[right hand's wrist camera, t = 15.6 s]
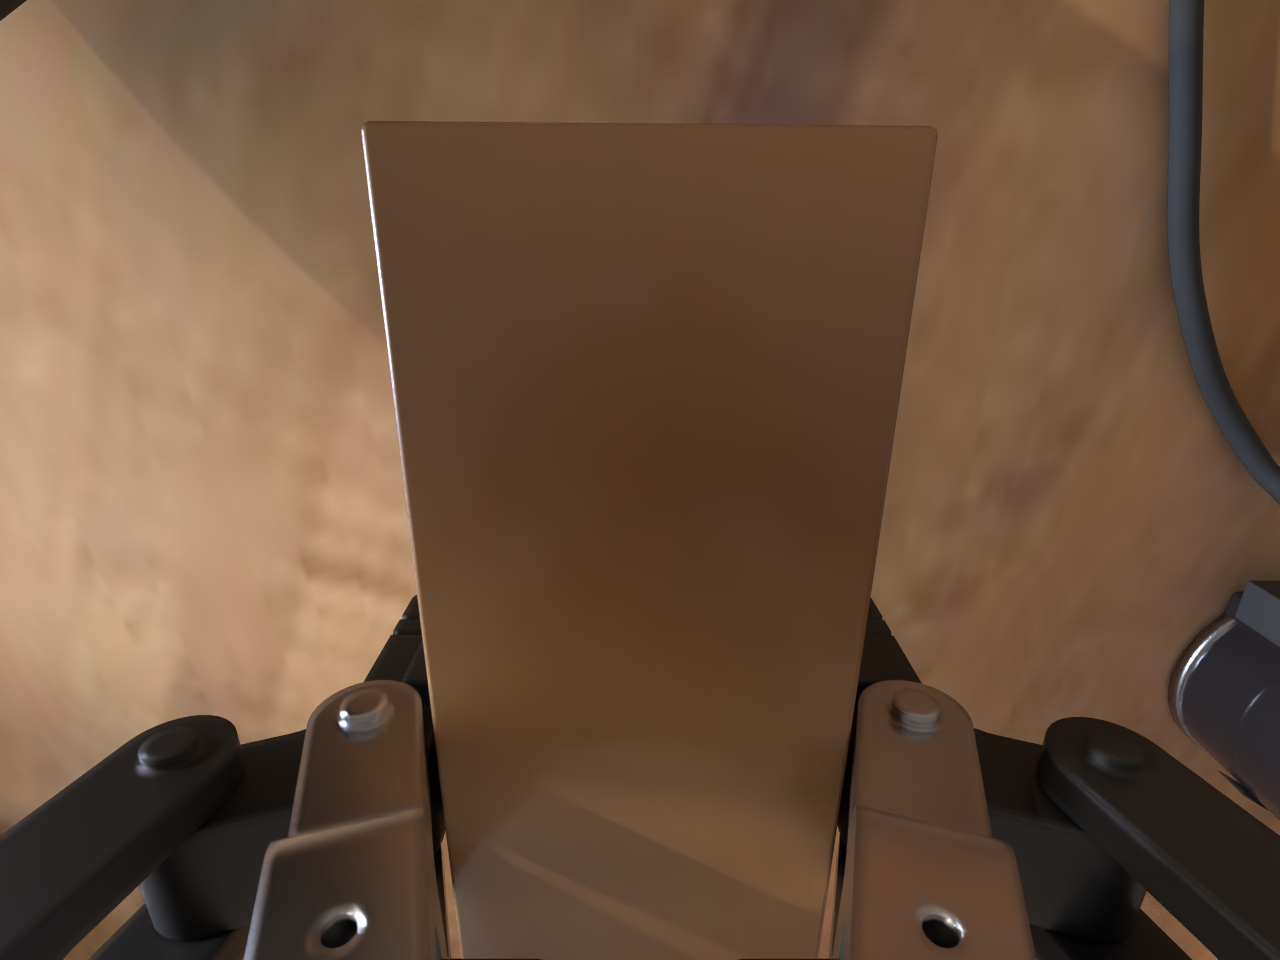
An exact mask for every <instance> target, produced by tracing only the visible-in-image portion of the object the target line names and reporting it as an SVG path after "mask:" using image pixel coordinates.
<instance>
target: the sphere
mask: <svg viewBox="0 0 1280 960" xmlns="http://www.w3.org/2000/svg"><path fill="white" fill-rule="evenodd" d="M25 1H26V0H0V21H1V20H2V19H3V18H5V17H6V16H7V15H8V14H10V13H11V12H12V11H14V10H15V9H16V8H17V7H19V6H20V5H21V4H23V3H24V2H25Z"/></svg>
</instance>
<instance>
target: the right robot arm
mask: <svg viewBox="0 0 1280 960" xmlns="http://www.w3.org/2000/svg"><path fill="white" fill-rule="evenodd" d="M1203 22H1204V0H1169V154H1168V199H1167V226H1168V251H1169V264H1170V273H1171V281H1172V287H1173V293H1174V299H1175V304H1176V309H1177V313H1178V318H1179V322H1180V326H1181V330H1182V334H1183V338H1184V342H1185V346H1186V349H1187V353H1188V356H1189V360H1190V363H1191V366H1192V369H1193V372H1194V375H1195V378H1196V380H1197V383H1198V386H1199V388H1200V390H1201V393H1202V395H1203V397H1204V399H1205V401H1206V403H1207V406H1208V408H1209V410H1210V411H1211V413H1212V415H1213V417H1214V419H1215V421H1216V422H1217V424H1218V426H1219V427H1220V429H1221V431H1222V432H1223V434H1224V436H1225V437H1226V439H1227V441H1228V442H1229V444H1230V445H1231V447H1232V448H1233V450H1234V451H1235V453H1236V455H1237V456H1238V458H1239V459H1240V461H1241V462H1242V464H1243V465H1244V467H1245V468H1246V470H1247V471H1248V472H1249V474H1250V475H1251V476H1252V477H1253V479H1254V480H1255V481H1256V482H1257V483H1258V484H1259V485H1260V486H1261V487H1262V488H1263V489H1264V490H1265V491H1266V492H1267V493H1268V494H1270V495H1271V496H1272V497H1273V498H1274V499H1275V500H1276V501H1277V503H1278V504H1279V505H1280V467H1279V466H1278V465H1277V464H1276V462H1275V461H1274V460H1273V458H1272V457H1271V455H1270V454H1269V452H1268V451H1267V449H1266V448H1265V446H1264V445H1263V443H1262V442H1261V440H1260V439H1259V437H1258V435H1257V434H1256V432H1255V431H1254V429H1253V427H1252V426H1251V424H1250V423H1249V421H1248V419H1247V418H1246V416H1245V414H1244V412H1243V410H1242V409H1241V407H1240V405H1239V403H1238V401H1237V399H1236V397H1235V395H1234V393H1233V391H1232V389H1231V387H1230V384H1229V382H1228V379H1227V377H1226V375H1225V372H1224V369H1223V366H1222V363H1221V360H1220V357H1219V353H1218V350H1217V346H1216V342H1215V338H1214V334H1213V330H1212V326H1211V321H1210V317H1209V312H1208V308H1207V302H1206V297H1205V292H1204V285H1203V278H1202V269H1201V259H1200V243H1199V193H1200V167H1201V140H1202V88H1203ZM1168 701H1169V707H1170V712H1171V714H1172V717H1173V719H1174V721H1175V722H1176V724H1177V725H1178V727H1179V728H1180V729H1181V730H1182V731H1183V732H1184V733H1185V734H1186V735H1187V736H1188V737H1189V738H1190V739H1191V740H1192V741H1193V742H1194V743H1195V744H1196V745H1198V746H1199V747H1200V748H1201V749H1203V750H1205V751H1206V752H1208V753H1209V754H1210V755H1211V756H1212V757H1213V758H1214V759H1216V760H1217V761H1218V762H1219V763H1220V764H1221V765H1222V766H1223V767H1224V768H1225V769H1226V770H1227V771H1228V772H1229V773H1230V774H1231V775H1232V776H1233V777H1234V778H1235V779H1236V780H1237V781H1238V782H1239V783H1238V782H1236V781H1235V780H1233V779H1232V778H1230V777H1228V776H1227V775H1225V774H1223V773H1222V772H1220V771H1219V770H1218V771H1219V772H1220V773H1221V774H1222V775H1223V776H1224V777H1225V778H1226V779H1227V780H1228V781H1229V782H1230V783H1231V784H1232V785H1233V786H1234V787H1235V788H1237V789H1238V790H1239V791H1240V792H1241V793H1242V794H1243V795H1244V796H1246V797H1247V798H1249V799H1250V800H1252V801H1254V802H1255V803H1257V804H1259V805H1260V806H1262V807H1263V808H1265V809H1267V810H1268V811H1270V812H1271V813H1272V814H1273V815H1274V816H1275V817H1276V818H1277V819H1278V820H1280V581H1248V582H1247V585H1246V588H1245V591H1244V592H1236V593H1234V594H1233V595H1232V596H1231V598H1230V601H1229V604H1228V606H1227V608H1226V610H1225V612H1224V613H1223V614H1222V615H1221V616H1220V617H1218V618H1217V619H1216V620H1214V621H1213V622H1211V623H1210V624H1209V625H1208V626H1207V627H1205V628H1204V629H1203V630H1202V631H1201V632H1200V633H1199V634H1198V635H1197V636H1196V637H1195V638H1194V639H1193V640H1192V641H1191V642H1190V644H1189V645H1188V646H1187V647H1186V649H1185V650H1184V652H1183V653H1182V655H1181V656H1180V658H1179V660H1178V662H1177V663H1176V665H1175V668H1174V670H1173V673H1172V675H1171V679H1170V683H1169V689H1168ZM1241 784H1242V785H1241ZM837 826H838V829H839V832H840V837H839V844H838V851H837V858H836V872H835V885H834V899H833V912H832V926H831V939H830V953H829V959H739V960H1036V958H1037V960H1192V959H1191V958H1190V957H1189V956H1188V955H1187V954H1186V953H1185V952H1184V951H1183V950H1182V949H1181V948H1180V947H1179V946H1178V945H1177V944H1176V943H1175V942H1174V941H1173V940H1172V939H1171V938H1170V937H1169V936H1168V935H1167V934H1166V933H1165V932H1163V931H1162V930H1161V929H1160V928H1159V927H1158V926H1157V925H1156V924H1155V923H1154V922H1153V921H1152V920H1151V919H1150V918H1149V917H1148V916H1147V915H1146V914H1145V913H1144V912H1143V911H1142V910H1141V909H1140V907H1141V904H1142V902H1143V899H1144V896H1145V894H1146V891H1148V892H1149V893H1150V894H1151V895H1152V896H1153V897H1154V898H1155V899H1156V900H1157V901H1158V902H1159V903H1160V904H1161V905H1163V906H1164V907H1165V908H1166V909H1167V910H1168V911H1169V912H1170V913H1171V914H1172V915H1173V916H1174V917H1175V918H1176V919H1177V920H1178V921H1179V922H1180V923H1181V924H1182V925H1184V926H1185V927H1186V928H1187V929H1188V930H1189V931H1190V932H1191V933H1192V934H1193V935H1194V936H1195V937H1196V938H1197V939H1198V940H1199V941H1200V942H1201V943H1202V944H1203V945H1205V946H1206V947H1207V948H1208V949H1209V950H1210V951H1211V952H1212V953H1213V954H1214V955H1215V956H1216V958H1217V959H1218V960H1280V836H1279V835H1278V834H1276V833H1275V832H1274V831H1272V830H1271V829H1270V828H1268V827H1267V826H1266V825H1264V824H1263V823H1262V822H1260V821H1259V820H1257V819H1256V818H1255V817H1253V816H1252V815H1251V814H1249V813H1248V812H1247V811H1245V810H1244V809H1243V808H1241V807H1240V806H1239V805H1237V804H1236V803H1234V802H1233V801H1232V800H1230V799H1229V798H1228V797H1226V796H1225V795H1224V794H1222V793H1221V792H1220V791H1218V790H1217V789H1216V788H1214V787H1213V786H1211V785H1210V784H1209V783H1207V782H1206V781H1205V780H1203V779H1202V778H1201V777H1199V776H1198V775H1197V774H1195V773H1194V772H1193V771H1191V770H1190V769H1188V768H1187V767H1186V766H1184V765H1183V764H1182V763H1180V762H1179V761H1178V760H1176V759H1175V758H1174V757H1172V756H1171V755H1170V754H1168V753H1167V752H1165V751H1164V750H1163V749H1161V748H1160V747H1159V746H1157V745H1156V744H1154V743H1153V742H1151V741H1150V740H1148V739H1147V738H1145V737H1143V736H1141V735H1140V734H1138V733H1136V732H1134V731H1132V730H1129V729H1127V728H1125V727H1122V726H1120V725H1117V724H1114V723H1111V722H1107V721H1104V720H1099V719H1094V718H1086V717H1070V718H1064V719H1061V720H1058V721H1056V722H1054V723H1052V724H1051V725H1050V726H1049V727H1048V729H1047V731H1046V734H1045V738H1044V742H1043V745H1039V744H1034V743H1030V742H1025V741H1021V740H1016V739H1011V738H1007V737H1002V736H998V735H994V734H990V733H986V732H983V731H981V730H978V729H975V728H974V727H973V723H972V720H971V718H970V716H969V714H968V713H967V711H966V710H965V709H964V708H963V707H962V706H961V705H960V704H959V703H958V702H957V701H956V700H954V699H953V698H951V697H950V696H949V695H947V694H945V693H943V692H942V691H940V690H937V689H935V688H933V687H930V686H927V685H924V684H922V683H921V681H920V680H919V678H918V676H917V675H916V673H915V671H914V669H913V668H912V666H911V664H910V663H909V661H908V659H907V658H906V656H905V654H904V653H903V651H902V649H901V648H900V646H899V644H898V642H897V641H896V639H895V637H894V636H891V631H890V629H889V627H888V626H887V624H886V622H885V620H882V615H881V614H880V612H879V610H878V609H877V607H876V605H875V604H874V602H873V600H872V598H870V603H869V610H868V617H867V624H866V631H865V638H864V645H863V652H862V658H861V665H860V672H859V679H858V686H857V693H856V700H855V706H854V713H853V720H852V727H851V734H850V741H849V748H848V754H847V761H846V768H845V775H844V782H843V789H842V796H841V803H840V809H839V816H838V823H837ZM445 831H446V828H445V819H444V811H443V803H442V795H441V786H440V778H439V770H438V762H437V753H436V745H435V737H434V729H433V720H432V712H431V704H430V696H429V687H428V679H427V671H426V663H425V654H424V646H423V638H422V630H421V621H420V613H419V605H418V597H417V595H416V596H414V597H413V598H412V600H411V602H410V603H409V605H408V607H407V608H406V610H405V612H404V614H403V615H402V620H399V622H398V624H397V626H396V627H395V629H394V631H393V635H391V636H390V638H389V639H388V641H387V643H386V644H385V646H384V648H383V650H382V651H381V653H380V655H379V656H378V658H377V660H376V662H375V663H374V665H373V667H372V668H371V670H370V672H369V674H368V675H367V677H366V679H365V680H364V682H363V683H359V684H356V685H353V686H350V687H347V688H345V689H343V690H340V691H339V692H337V693H335V694H333V695H331V696H330V697H329V698H327V699H326V700H324V701H323V702H322V703H321V704H320V705H319V706H318V707H317V708H316V709H315V710H314V712H313V713H312V714H311V716H310V718H309V720H308V724H307V728H306V729H305V730H302V731H299V732H295V733H291V734H287V735H283V736H278V737H273V738H269V739H264V740H260V741H255V742H251V743H246V744H242V745H240V742H239V738H238V734H237V731H236V728H235V726H234V725H233V724H232V723H231V722H230V721H228V720H227V719H225V718H222V717H219V716H212V715H197V716H189V717H184V718H179V719H176V720H172V721H169V722H166V723H163V724H160V725H158V726H155V727H153V728H151V729H149V730H147V731H145V732H143V733H141V734H139V735H138V736H136V737H134V738H133V739H131V740H130V741H128V742H127V743H125V744H124V745H123V746H121V747H120V748H119V749H117V750H116V751H115V752H113V753H112V754H111V755H109V756H108V757H106V758H105V759H104V760H102V761H101V762H100V763H98V764H97V765H96V766H94V767H93V768H92V769H90V770H89V771H88V772H86V773H85V774H83V775H82V776H81V777H79V778H78V779H77V780H75V781H74V782H73V783H71V784H70V785H69V786H67V787H66V788H64V789H63V790H62V791H60V792H59V793H58V794H56V795H55V796H54V797H52V798H51V799H50V800H48V801H47V802H46V803H44V804H43V805H41V806H40V807H39V808H37V809H36V810H35V811H33V812H32V813H31V814H29V815H28V816H27V817H25V818H24V819H23V820H21V821H20V822H18V823H17V824H16V825H14V826H13V827H12V828H10V829H9V830H8V831H6V832H5V833H4V834H2V835H1V836H0V960H63V959H64V957H65V956H66V955H67V954H68V953H69V952H70V951H71V950H72V949H73V947H74V946H76V945H77V944H78V943H79V942H80V941H81V940H82V939H83V938H84V937H85V936H86V935H87V934H88V933H89V932H90V931H91V930H92V929H93V928H94V927H95V926H97V925H98V924H99V923H100V922H101V921H102V920H103V919H104V918H105V917H106V916H107V915H108V914H109V913H110V912H111V911H112V910H113V909H114V908H115V907H116V906H118V905H119V904H120V903H121V902H122V901H123V900H124V899H125V898H126V897H127V896H128V895H129V894H130V893H131V892H132V891H133V890H134V889H135V888H136V887H137V886H139V887H140V890H141V892H142V895H143V898H144V901H145V904H144V905H143V906H142V907H141V908H140V909H139V910H138V911H137V912H136V913H135V914H134V915H133V916H132V917H131V918H130V919H129V920H128V921H127V922H126V923H125V924H124V925H123V926H122V927H121V928H120V929H119V930H118V931H117V932H116V933H114V934H113V935H112V936H111V937H110V938H109V939H108V940H107V941H106V942H105V943H104V944H103V945H102V946H101V947H100V948H99V949H98V950H97V951H96V952H95V953H94V954H93V955H92V956H91V957H90V958H89V959H88V960H243V958H244V960H541V959H451V952H450V939H449V925H448V912H447V898H446V885H445V871H444V858H443V850H442V840H443V837H444V834H445Z"/></svg>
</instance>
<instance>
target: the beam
mask: <svg viewBox="0 0 1280 960" xmlns="http://www.w3.org/2000/svg"><path fill="white" fill-rule="evenodd" d="M361 135H362V143H363V151H364V160H365V168H366V176H367V184H368V193H369V201H370V209H371V217H372V226H373V234H374V242H375V250H376V259H377V267H378V275H379V283H380V292H381V300H382V308H383V316H384V325H385V333H386V341H387V349H388V357H389V366H390V374H391V382H392V390H393V399H394V407H395V415H396V423H397V432H398V440H399V448H400V456H401V465H402V473H403V481H404V489H405V498H406V506H407V514H408V522H409V531H410V539H411V547H412V555H413V564H414V572H415V580H416V588H417V597H418V605H419V613H420V621H421V630H422V638H423V646H424V654H425V663H426V671H427V679H428V687H429V696H430V704H431V712H432V720H433V729H434V737H435V745H436V753H437V762H438V770H439V778H440V786H441V795H442V803H443V811H444V819H445V828H446V836H447V844H448V852H449V861H450V869H451V877H452V885H453V894H454V902H455V910H456V918H457V927H458V935H459V943H460V951H461V959H541V960H739V959H818V954H819V947H820V940H821V933H822V926H823V919H824V912H825V905H826V899H827V892H828V885H829V878H830V871H831V864H832V857H833V851H834V844H835V837H836V830H837V823H838V816H839V809H840V803H841V796H842V789H843V782H844V775H845V768H846V761H847V754H848V748H849V741H850V734H851V727H852V720H853V713H854V706H855V700H856V693H857V686H858V679H859V672H860V665H861V658H862V652H863V645H864V638H865V631H866V624H867V617H868V610H869V603H870V597H871V590H872V583H873V576H874V569H875V562H876V555H877V549H878V542H879V535H880V528H881V521H882V514H883V507H884V500H885V494H886V487H887V480H888V473H889V466H890V459H891V452H892V446H893V439H894V432H895V425H896V418H897V411H898V404H899V398H900V391H901V384H902V377H903V370H904V363H905V356H906V349H907V343H908V336H909V329H910V322H911V315H912V308H913V301H914V295H915V288H916V281H917V274H918V267H919V260H920V253H921V247H922V240H923V233H924V226H925V219H926V212H927V205H928V198H929V192H930V185H931V178H932V171H933V164H934V157H935V150H936V144H937V137H938V136H937V130H936V129H934V128H932V127H930V126H857V125H747V124H637V123H528V122H418V121H368V122H366V123H364V124H362V129H361Z"/></svg>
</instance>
